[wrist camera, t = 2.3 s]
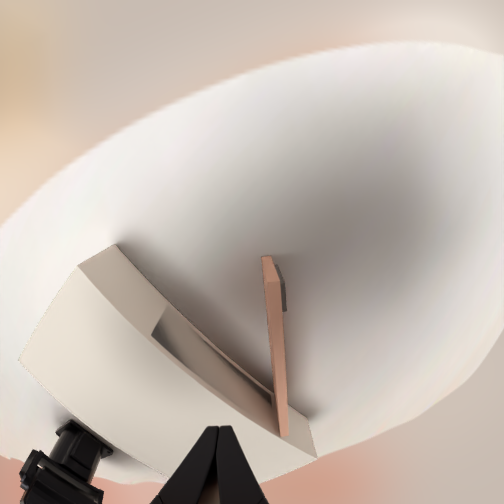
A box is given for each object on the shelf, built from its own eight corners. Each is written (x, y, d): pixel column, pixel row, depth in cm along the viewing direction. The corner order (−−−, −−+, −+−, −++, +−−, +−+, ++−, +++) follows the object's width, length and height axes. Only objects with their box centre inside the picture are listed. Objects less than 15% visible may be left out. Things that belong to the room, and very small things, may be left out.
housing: (216, 462, 24) (213, 497, 19) (47, 331, 19) (17, 360, 14) (307, 418, 22) (317, 459, 17) (114, 244, 17) (77, 265, 12)
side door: (274, 396, 21) (280, 436, 16) (261, 256, 17) (267, 282, 13) (285, 394, 21) (293, 435, 16) (275, 255, 17) (286, 280, 13)
